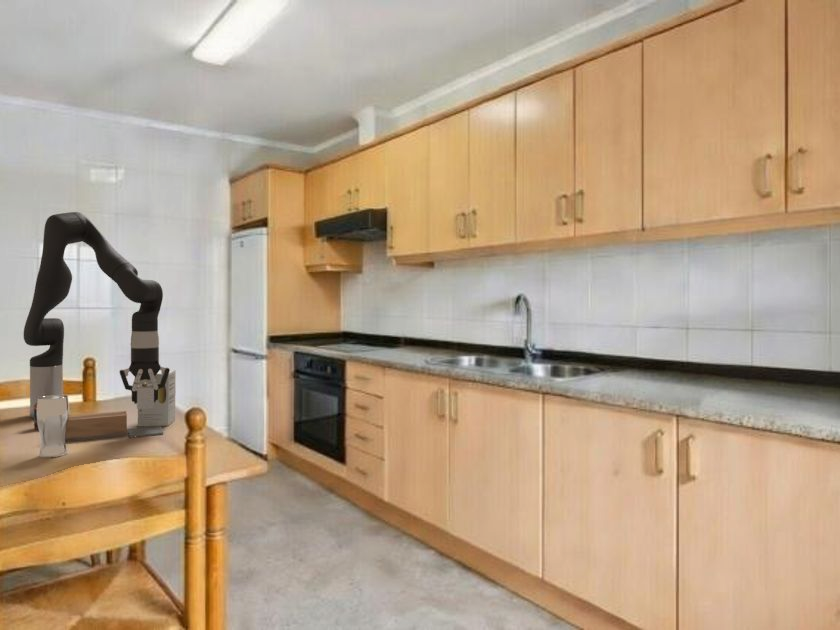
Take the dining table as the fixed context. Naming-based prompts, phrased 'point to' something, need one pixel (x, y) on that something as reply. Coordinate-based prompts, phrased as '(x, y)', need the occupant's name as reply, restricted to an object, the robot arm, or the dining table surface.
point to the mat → (145, 431)
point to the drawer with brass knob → (145, 396)
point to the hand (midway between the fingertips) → (145, 402)
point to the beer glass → (52, 424)
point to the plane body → (96, 426)
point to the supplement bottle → (35, 416)
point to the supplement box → (160, 403)
